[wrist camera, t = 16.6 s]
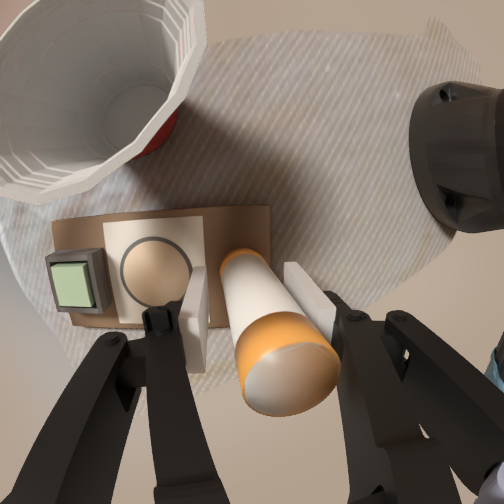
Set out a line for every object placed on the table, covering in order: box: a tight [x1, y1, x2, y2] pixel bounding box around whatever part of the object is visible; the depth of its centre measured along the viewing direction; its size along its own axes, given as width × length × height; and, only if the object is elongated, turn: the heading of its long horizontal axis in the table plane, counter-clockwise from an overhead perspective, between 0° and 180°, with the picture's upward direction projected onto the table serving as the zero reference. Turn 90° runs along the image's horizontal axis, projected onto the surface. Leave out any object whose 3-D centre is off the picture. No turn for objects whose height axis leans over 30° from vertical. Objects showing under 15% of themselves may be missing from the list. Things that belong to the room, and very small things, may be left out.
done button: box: [51, 260, 96, 307], centre depth 17 cm, size 3×3×2 cm
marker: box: [220, 247, 341, 417], centre depth 14 cm, size 3×3×12 cm
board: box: [45, 205, 271, 328], centre depth 18 cm, size 17×9×3 cm, turn 91°
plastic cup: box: [0, 0, 207, 205], centre depth 11 cm, size 11×11×12 cm
